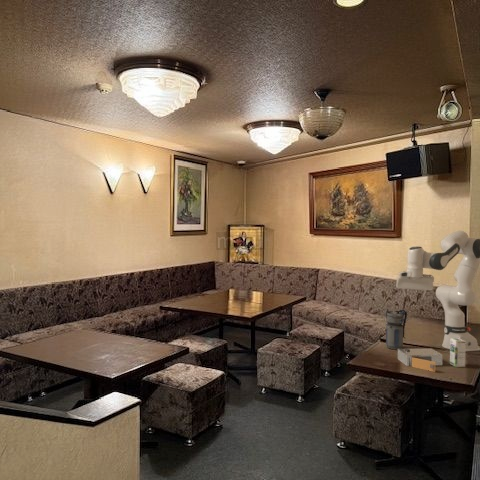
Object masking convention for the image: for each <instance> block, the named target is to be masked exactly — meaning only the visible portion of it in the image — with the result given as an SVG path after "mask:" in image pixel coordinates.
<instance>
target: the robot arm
mask: <svg viewBox="0 0 480 480" xmlns="http://www.w3.org/2000/svg"><path fill="white" fill-rule="evenodd" d="M440 248H441V251H442V252H428V251H426V250H424V249H423V247H422V246H411V247H409V248H408V249H407V250H408V251H407V258H406V260H407V261H406V262H407V266H406V270H403V271H400V272H398V276H397V279H396V285H395V286H396V289H400V290H401V289H402V292H403V295H404V296H403V297H405V298H406V297H407V296H408V294H407V293H406V292H405V291H406V290H416V291H417V290H418V291H423V294H421V296H420V297H421V298H423V299H425V295H426V294H427V291H433V290H434V282H435V281H434V280H435V277H434V276H433V275H432V274H425V273H424V269H429V270H436V271H441V270H444V269H445V268H446V267H447V266H448V264H449V263H450V261H452V260H453V259H454V258H455V257H456V256H457V255H459V254H460V255H463V258H461V260H460V262H459V263H458V265H457V268H456V269H455V272H454V274H453V278H454V280H455V281H456V286H453V285H449V284H448V285H440V286H438V287H437V288H436V290H435V297H436V298H437V300H438V301H439V302H440V303H441V305H442V308H443V311H444V326H443V327H444V328H443V329H444V331H443V332H444V337H443V341H442V344H441V347H443V349H444V348H445V349H447V350H450V339H451V338H459V339H462V340H464V341H466V350H465V352H475V351H480V346H479V343H478V340H477V338H475V336H473V335H472V334H471V333H469V332H471V327H469V326H468V327H467V326H465V324H466V323H465V317H466V316H465V313H464V312H463V311H462V309H461V308H460V307H459V306H472V305H474V303H476V299H477V295H476V293H475V291H474V289H473V282H474V279H475V277H476V274H477V272H478V270H479V267H480V238H475V237H474V238H473V237H470V236H469V235H468V232H466V231H464V230H457V231H454V232H452V233H450V234H448V235H446V236H444V237H443V238H442V239H441V241H440Z"/></svg>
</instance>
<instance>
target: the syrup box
mask: <svg viewBox="0 0 480 480" xmlns="http://www.w3.org/2000/svg"><path fill="white" fill-rule="evenodd" d="M465 350H466V341H464V340H462V339H459V338H451V339H450V349H449V365H452V366H453V367H456V368H466V351H465Z"/></svg>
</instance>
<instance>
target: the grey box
mask: <svg viewBox="0 0 480 480" xmlns="http://www.w3.org/2000/svg"><path fill="white" fill-rule="evenodd" d="M410 356H412V357H413V358H418V359H423V360H427V361H432V362H435V367H436V366H439V367H440V366H443V354H441V352H439V351H436V350H435V349H434V348H432V347H431V348H402V349H398V350H397V360H398V361H400V362H401V363H402V364H404V365H405V366H406V367H410Z"/></svg>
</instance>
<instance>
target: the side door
mask: <svg viewBox="0 0 480 480" xmlns="http://www.w3.org/2000/svg"><path fill="white" fill-rule="evenodd" d="M409 367H410V368H411V367H413V368H414V369H415V368H416V369H421V370H424V371H428V370H429V371H430V372H433V373H435V372H436V366H435V362H432V361H427V360H423V359H418V358H413V357H412V356H410V366H409Z"/></svg>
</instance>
